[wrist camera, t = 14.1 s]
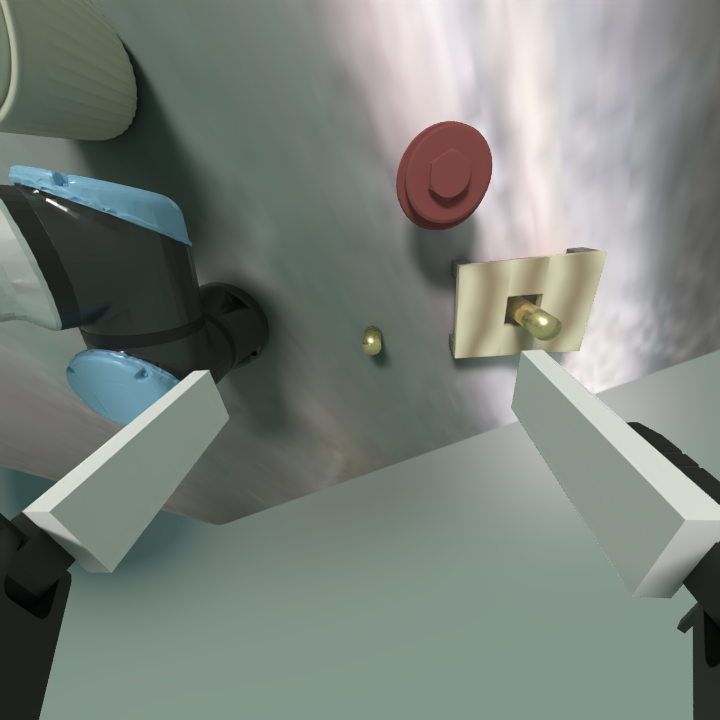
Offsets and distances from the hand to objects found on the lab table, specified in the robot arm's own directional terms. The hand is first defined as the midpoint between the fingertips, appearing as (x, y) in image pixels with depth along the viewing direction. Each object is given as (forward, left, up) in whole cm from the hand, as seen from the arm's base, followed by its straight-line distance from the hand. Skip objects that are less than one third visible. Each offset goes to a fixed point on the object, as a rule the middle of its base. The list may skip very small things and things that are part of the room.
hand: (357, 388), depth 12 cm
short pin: (-2, -12, -35) cm, 37 cm away
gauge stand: (+20, -8, -35) cm, 41 cm away
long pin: (+20, -8, -35) cm, 41 cm away
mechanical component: (+8, +9, -35) cm, 37 cm away
